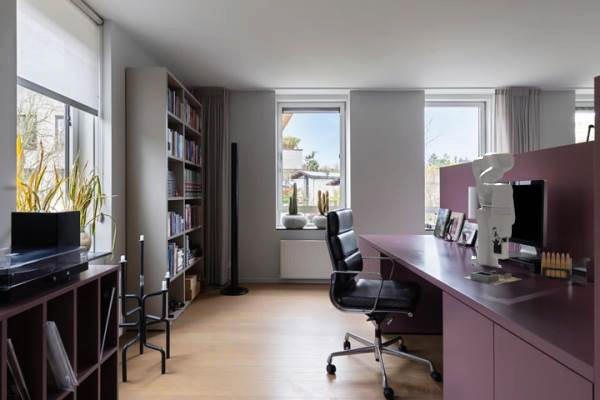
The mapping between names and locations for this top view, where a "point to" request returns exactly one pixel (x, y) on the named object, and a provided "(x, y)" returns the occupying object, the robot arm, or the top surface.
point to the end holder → (484, 276)
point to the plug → (503, 251)
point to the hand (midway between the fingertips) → (500, 252)
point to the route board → (501, 278)
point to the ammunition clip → (557, 271)
